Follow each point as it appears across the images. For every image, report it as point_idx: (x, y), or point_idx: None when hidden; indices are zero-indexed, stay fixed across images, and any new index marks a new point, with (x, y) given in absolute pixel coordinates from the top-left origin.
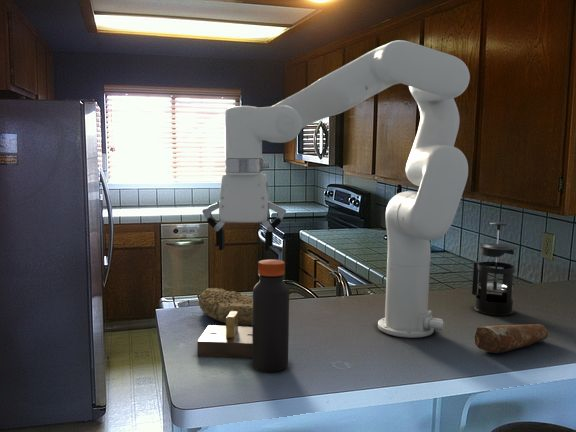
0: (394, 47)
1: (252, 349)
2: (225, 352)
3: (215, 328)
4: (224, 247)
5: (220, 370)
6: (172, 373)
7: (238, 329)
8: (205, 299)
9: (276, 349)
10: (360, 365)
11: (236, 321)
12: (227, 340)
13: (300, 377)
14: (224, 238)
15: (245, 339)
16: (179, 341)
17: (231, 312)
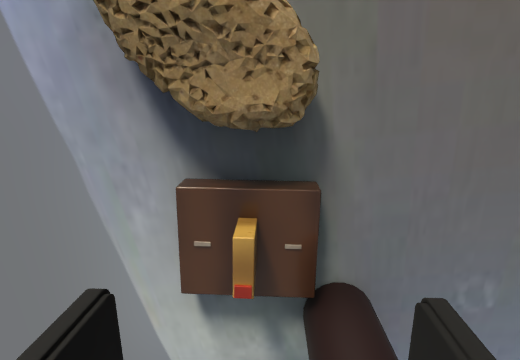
0: None
1: (306, 339)
2: None
3: (199, 211)
4: (114, 302)
5: (248, 332)
6: (169, 348)
7: (257, 213)
8: (105, 10)
9: None
10: (515, 295)
11: (255, 253)
12: None
13: None
14: (74, 341)
15: (283, 276)
16: (126, 201)
17: (237, 250)
